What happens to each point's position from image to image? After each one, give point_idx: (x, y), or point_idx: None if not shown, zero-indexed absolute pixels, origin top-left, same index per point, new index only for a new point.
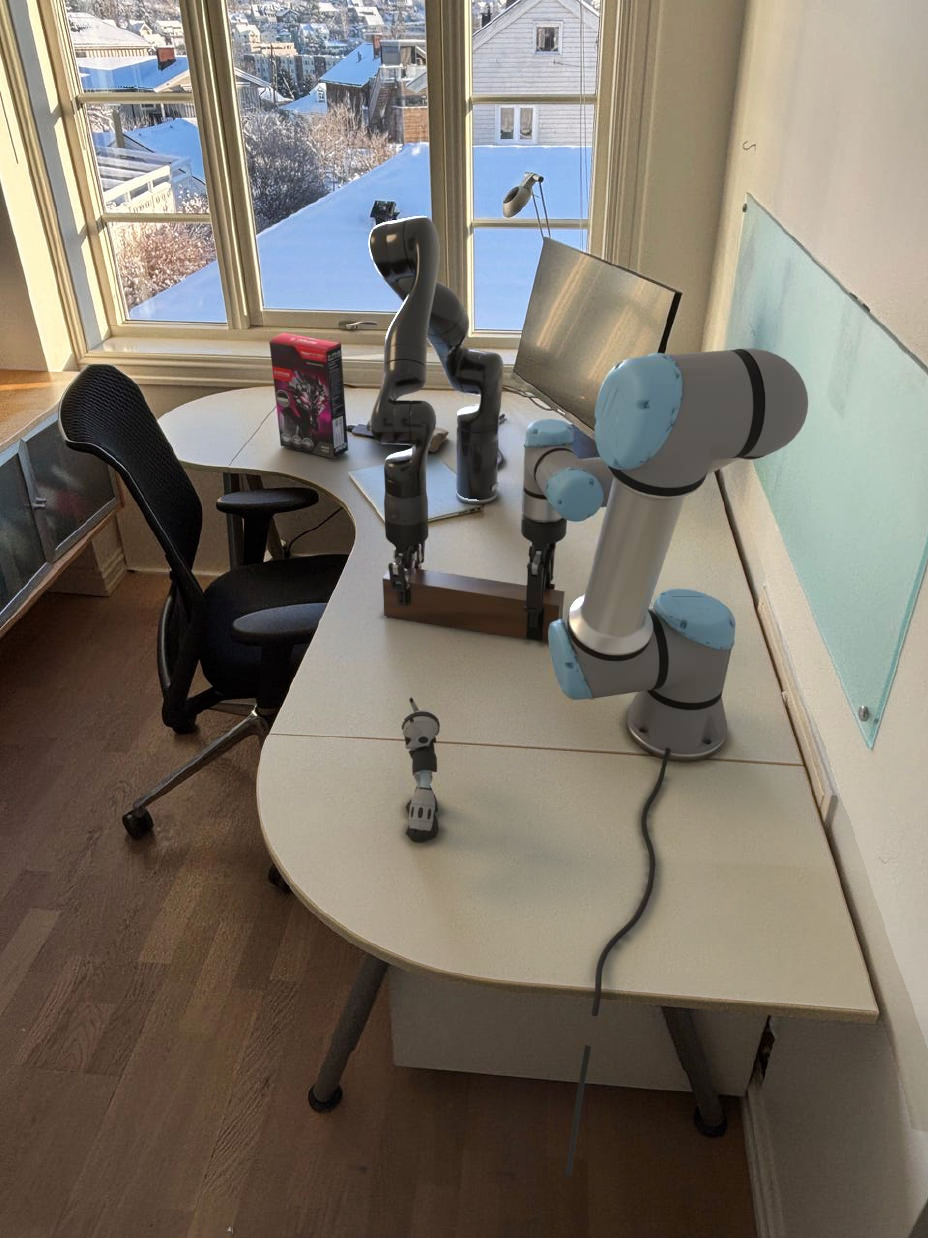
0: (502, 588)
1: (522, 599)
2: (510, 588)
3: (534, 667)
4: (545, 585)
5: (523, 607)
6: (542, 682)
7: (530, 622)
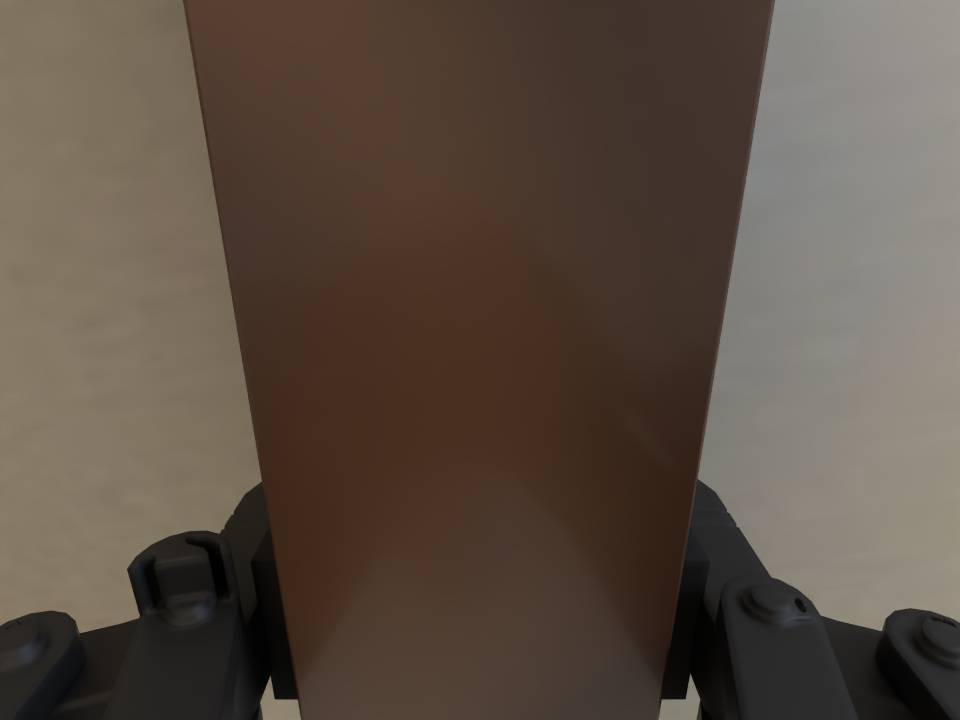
0: (501, 168)
1: (292, 532)
2: (544, 307)
3: (117, 465)
4: (722, 711)
5: (129, 566)
6: (6, 528)
7: (235, 516)
